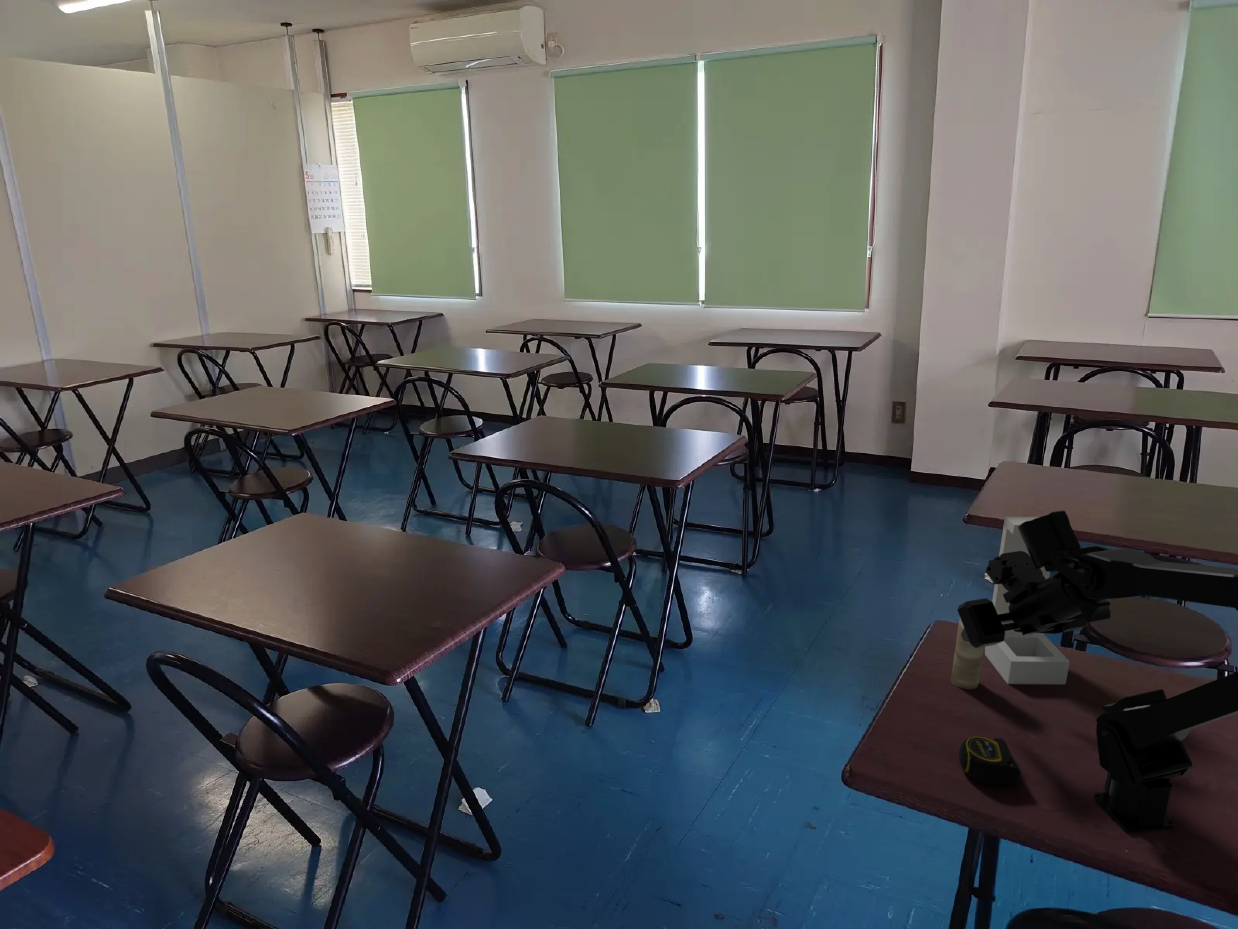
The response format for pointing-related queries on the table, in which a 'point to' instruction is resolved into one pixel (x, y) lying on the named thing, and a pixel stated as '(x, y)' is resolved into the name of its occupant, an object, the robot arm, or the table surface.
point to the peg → (966, 663)
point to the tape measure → (988, 760)
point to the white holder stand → (1021, 653)
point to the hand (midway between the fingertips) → (988, 632)
